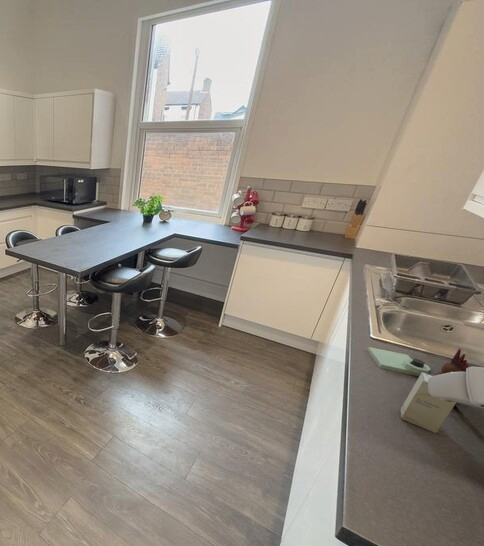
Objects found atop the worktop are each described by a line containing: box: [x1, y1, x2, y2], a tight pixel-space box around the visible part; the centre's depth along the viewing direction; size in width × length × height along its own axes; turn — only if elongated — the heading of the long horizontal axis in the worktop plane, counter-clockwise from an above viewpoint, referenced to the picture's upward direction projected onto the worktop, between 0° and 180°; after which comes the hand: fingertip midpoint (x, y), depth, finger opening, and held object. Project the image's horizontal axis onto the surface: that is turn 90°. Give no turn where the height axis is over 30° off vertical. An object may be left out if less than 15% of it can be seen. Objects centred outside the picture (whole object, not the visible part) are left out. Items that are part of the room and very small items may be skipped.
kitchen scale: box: [367, 346, 431, 377], centre depth 96 cm, size 11×11×3 cm
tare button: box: [411, 358, 426, 368], centre depth 92 cm, size 2×2×2 cm
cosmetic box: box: [400, 372, 457, 434], centre depth 74 cm, size 6×4×12 cm
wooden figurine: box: [432, 348, 470, 404], centre depth 80 cm, size 7×6×15 cm
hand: (475, 404), depth 62 cm, fingers open, 8 cm apart
